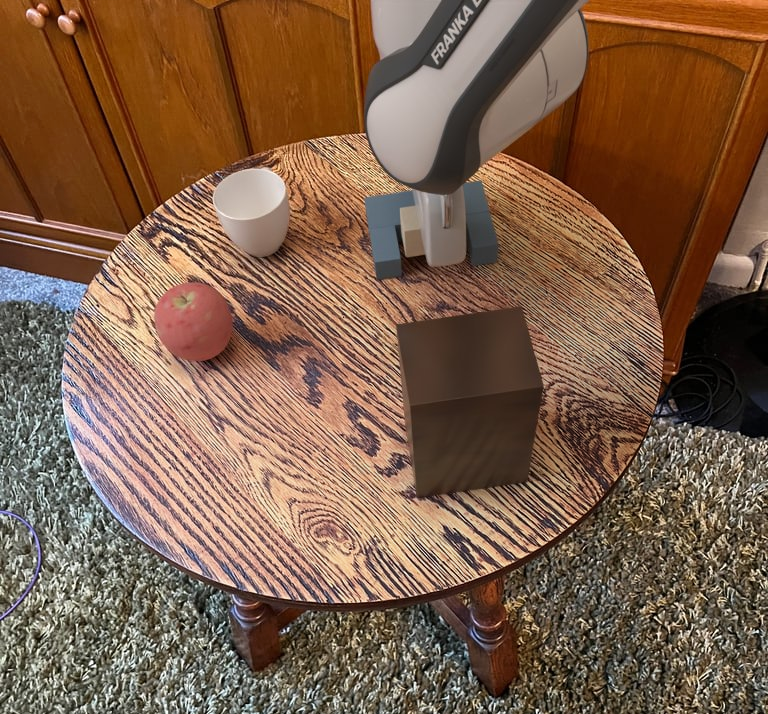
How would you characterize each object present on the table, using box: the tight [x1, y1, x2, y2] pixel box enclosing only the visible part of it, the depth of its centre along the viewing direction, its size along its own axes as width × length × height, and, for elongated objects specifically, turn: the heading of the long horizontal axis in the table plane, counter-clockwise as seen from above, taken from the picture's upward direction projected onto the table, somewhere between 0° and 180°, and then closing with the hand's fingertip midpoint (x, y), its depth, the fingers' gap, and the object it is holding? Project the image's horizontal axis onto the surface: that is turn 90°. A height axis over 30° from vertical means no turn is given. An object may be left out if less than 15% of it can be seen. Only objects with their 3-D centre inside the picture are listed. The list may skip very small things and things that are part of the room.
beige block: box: [400, 206, 426, 258], centre depth 80 cm, size 6×4×4 cm, turn 97°
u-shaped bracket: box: [363, 179, 500, 281], centre depth 83 cm, size 13×10×2 cm
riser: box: [395, 305, 545, 499], centre depth 65 cm, size 10×8×14 cm
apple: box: [153, 281, 234, 362], centre depth 76 cm, size 7×7×8 cm
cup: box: [212, 166, 291, 258], centre depth 83 cm, size 8×10×7 cm
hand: (432, 234), depth 81 cm, fingers closed on beige block, 3 cm apart
